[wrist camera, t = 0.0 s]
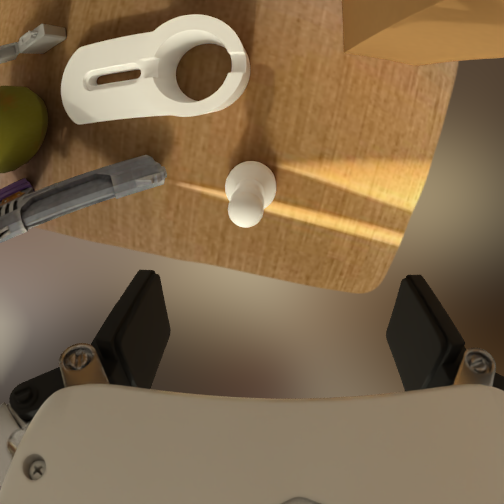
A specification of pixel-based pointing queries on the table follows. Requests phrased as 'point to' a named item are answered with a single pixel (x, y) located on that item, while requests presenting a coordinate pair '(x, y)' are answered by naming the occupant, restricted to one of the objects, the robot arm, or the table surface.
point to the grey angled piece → (34, 42)
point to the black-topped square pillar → (424, 30)
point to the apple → (20, 126)
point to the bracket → (150, 73)
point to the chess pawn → (249, 192)
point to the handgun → (74, 193)
